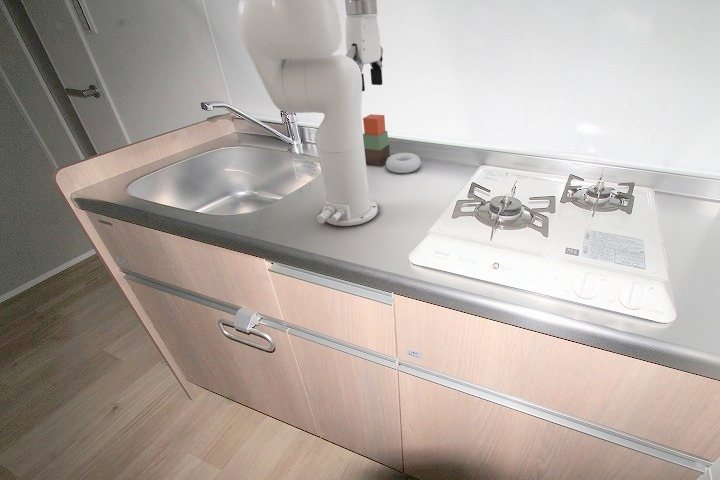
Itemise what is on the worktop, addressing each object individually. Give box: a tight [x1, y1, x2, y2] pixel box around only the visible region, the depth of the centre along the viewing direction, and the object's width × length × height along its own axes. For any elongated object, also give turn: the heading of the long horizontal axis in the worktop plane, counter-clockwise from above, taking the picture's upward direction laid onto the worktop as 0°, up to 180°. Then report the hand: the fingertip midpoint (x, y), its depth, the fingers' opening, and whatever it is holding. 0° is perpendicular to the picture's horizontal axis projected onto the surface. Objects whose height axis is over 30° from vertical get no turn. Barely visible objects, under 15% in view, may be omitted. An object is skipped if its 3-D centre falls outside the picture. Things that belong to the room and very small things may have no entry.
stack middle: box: [363, 130, 389, 151], centre depth 106 cm, size 6×6×4 cm
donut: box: [385, 152, 422, 174], centre depth 104 cm, size 10×4×10 cm
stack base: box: [364, 144, 391, 167], centre depth 109 cm, size 6×6×4 cm
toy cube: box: [362, 113, 386, 136], centre depth 104 cm, size 4×4×4 cm
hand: (368, 87), depth 98 cm, fingers open, 9 cm apart
